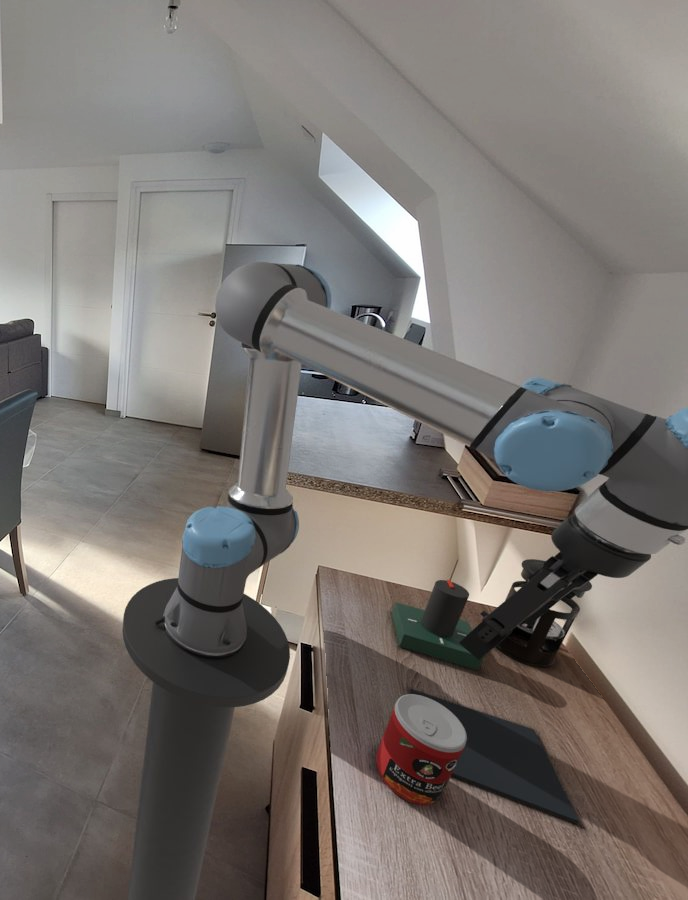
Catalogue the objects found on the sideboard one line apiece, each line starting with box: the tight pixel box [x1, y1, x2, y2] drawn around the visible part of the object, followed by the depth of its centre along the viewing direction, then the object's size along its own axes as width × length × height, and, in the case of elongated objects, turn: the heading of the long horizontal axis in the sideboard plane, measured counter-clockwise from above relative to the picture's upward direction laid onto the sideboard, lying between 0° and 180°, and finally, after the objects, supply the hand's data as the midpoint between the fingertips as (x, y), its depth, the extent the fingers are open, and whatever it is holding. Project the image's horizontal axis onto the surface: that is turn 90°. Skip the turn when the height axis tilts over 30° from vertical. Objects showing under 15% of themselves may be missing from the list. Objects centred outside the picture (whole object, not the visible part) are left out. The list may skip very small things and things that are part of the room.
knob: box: [421, 578, 470, 637], centre depth 84 cm, size 5×5×9 cm
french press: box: [494, 558, 593, 669], centre depth 82 cm, size 12×9×23 cm
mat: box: [409, 688, 580, 825], centre depth 66 cm, size 16×14×1 cm
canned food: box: [375, 693, 467, 806], centre depth 60 cm, size 8×8×11 cm
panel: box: [391, 602, 485, 671], centre depth 86 cm, size 12×10×3 cm
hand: (495, 633), depth 66 cm, fingers open, 13 cm apart
